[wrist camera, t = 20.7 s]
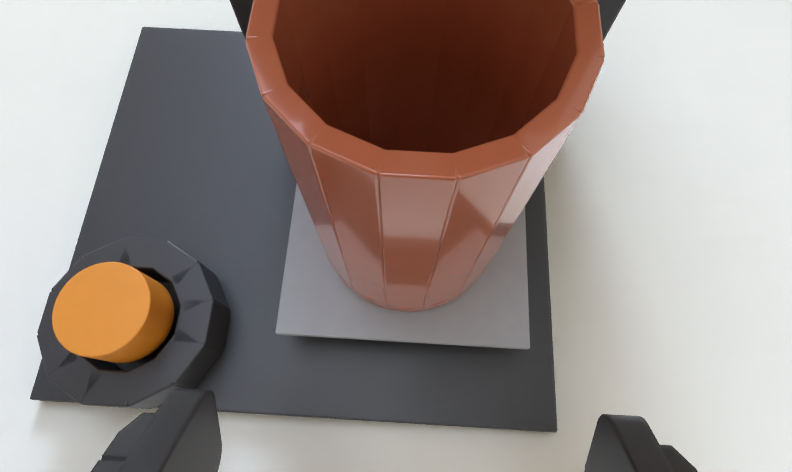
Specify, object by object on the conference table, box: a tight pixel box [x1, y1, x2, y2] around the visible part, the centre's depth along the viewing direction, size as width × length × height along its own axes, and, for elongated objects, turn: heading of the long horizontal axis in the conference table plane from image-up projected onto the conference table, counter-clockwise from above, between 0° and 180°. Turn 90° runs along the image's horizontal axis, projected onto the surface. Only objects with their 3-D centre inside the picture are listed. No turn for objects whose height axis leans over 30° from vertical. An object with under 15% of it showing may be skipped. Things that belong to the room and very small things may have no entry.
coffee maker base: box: [30, 27, 557, 432], centre depth 21 cm, size 18×20×3 cm
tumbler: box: [245, 0, 605, 312], centre depth 14 cm, size 6×6×10 cm
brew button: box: [52, 262, 174, 363], centre depth 17 cm, size 3×3×2 cm
